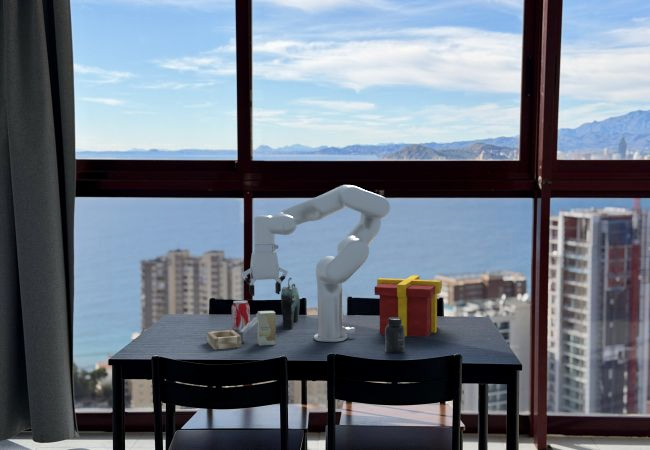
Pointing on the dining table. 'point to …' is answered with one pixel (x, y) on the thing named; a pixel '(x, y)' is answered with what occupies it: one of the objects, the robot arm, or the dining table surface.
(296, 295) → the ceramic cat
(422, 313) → the gift box
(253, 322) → the latch bar
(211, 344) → the socket
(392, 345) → the supplement bottle
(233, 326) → the soda can
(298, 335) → the dining table surface
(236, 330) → the bracket
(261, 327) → the skincare box
